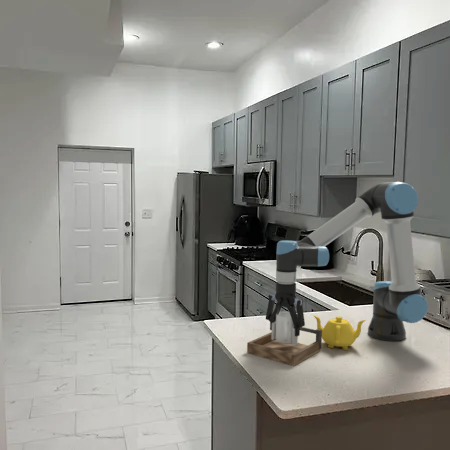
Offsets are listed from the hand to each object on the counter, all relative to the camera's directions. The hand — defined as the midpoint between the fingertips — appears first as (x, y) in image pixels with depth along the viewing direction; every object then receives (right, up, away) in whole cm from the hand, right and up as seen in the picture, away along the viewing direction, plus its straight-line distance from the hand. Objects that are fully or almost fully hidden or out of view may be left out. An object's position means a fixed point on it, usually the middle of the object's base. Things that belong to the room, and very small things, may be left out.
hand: (284, 341), depth 173 cm
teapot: (+22, -4, +7) cm, 24 cm away
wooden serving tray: (0, -4, 0) cm, 4 cm away
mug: (+1, -1, 0) cm, 1 cm away
